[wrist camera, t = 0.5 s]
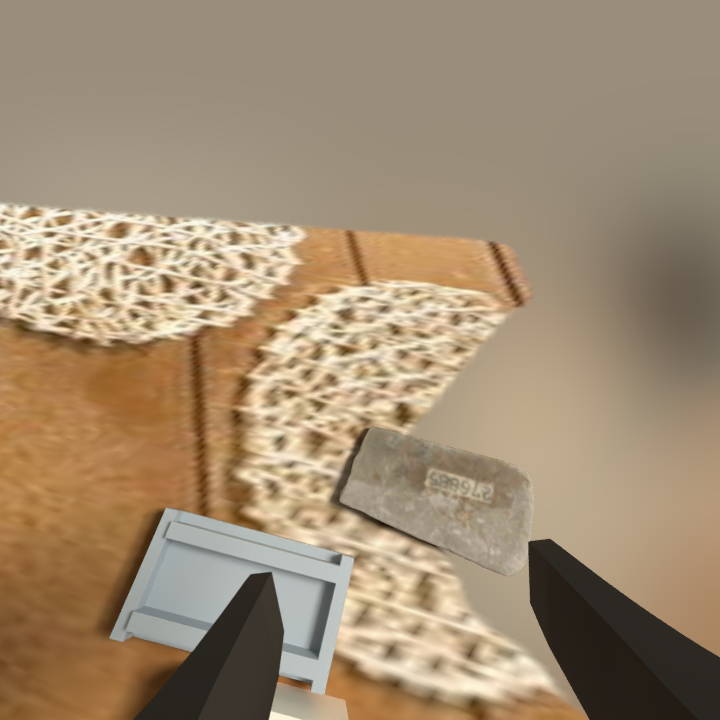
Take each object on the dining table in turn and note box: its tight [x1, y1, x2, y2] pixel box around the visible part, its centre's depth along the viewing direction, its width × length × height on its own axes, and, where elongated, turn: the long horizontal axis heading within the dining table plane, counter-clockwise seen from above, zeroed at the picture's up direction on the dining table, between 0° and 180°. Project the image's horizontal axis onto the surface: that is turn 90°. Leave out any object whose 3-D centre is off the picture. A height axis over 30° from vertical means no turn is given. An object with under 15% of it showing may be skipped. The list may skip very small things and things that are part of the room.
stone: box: [339, 426, 534, 576], centre depth 35 cm, size 18×3×10 cm
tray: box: [109, 508, 354, 695], centre depth 29 cm, size 9×16×3 cm, turn 76°
